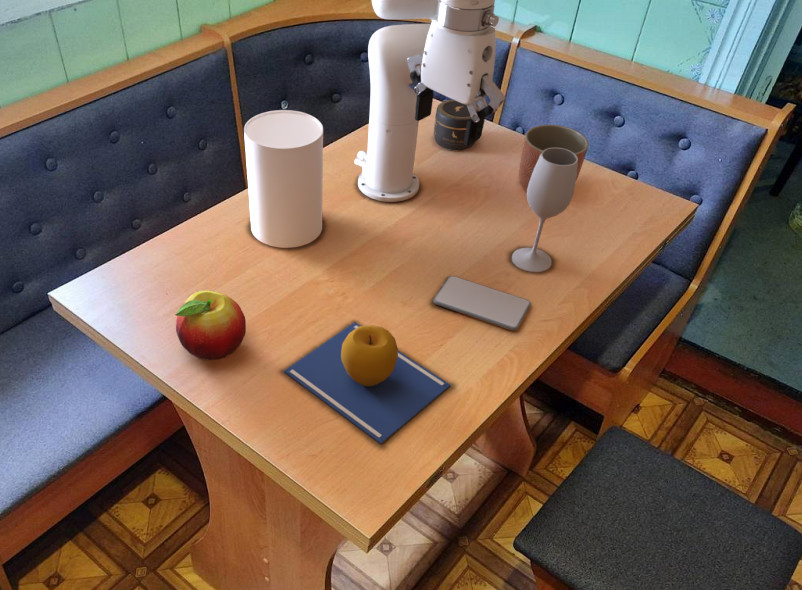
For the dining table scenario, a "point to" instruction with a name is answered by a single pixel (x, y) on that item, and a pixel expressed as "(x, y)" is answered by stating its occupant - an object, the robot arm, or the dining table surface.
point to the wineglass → (547, 200)
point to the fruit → (210, 325)
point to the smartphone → (482, 302)
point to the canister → (285, 177)
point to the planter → (549, 138)
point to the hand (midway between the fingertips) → (446, 129)
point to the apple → (369, 354)
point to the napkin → (367, 389)
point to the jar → (451, 125)
